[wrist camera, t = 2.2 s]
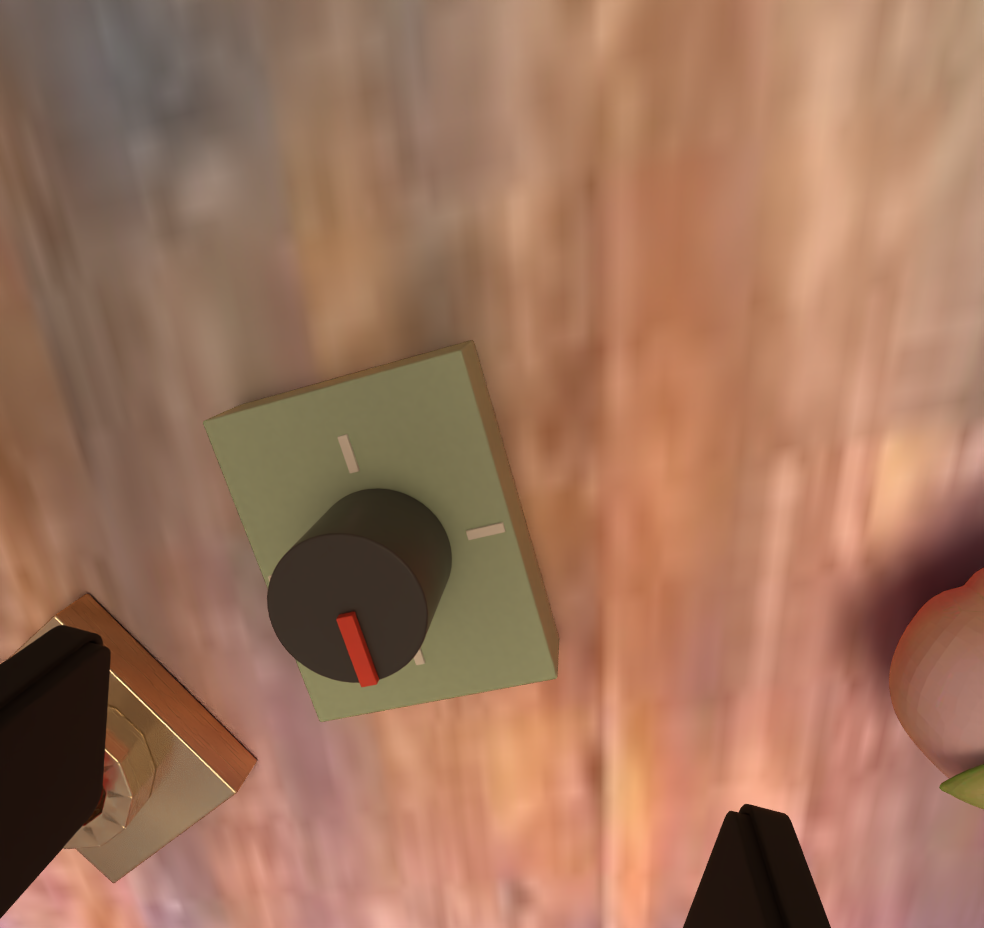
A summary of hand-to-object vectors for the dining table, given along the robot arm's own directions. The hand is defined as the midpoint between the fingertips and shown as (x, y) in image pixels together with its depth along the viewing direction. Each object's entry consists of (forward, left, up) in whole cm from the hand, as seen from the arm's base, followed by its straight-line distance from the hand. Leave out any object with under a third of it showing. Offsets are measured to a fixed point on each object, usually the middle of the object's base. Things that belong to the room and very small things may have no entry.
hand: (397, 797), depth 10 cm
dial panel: (0, -5, -19) cm, 19 cm away
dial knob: (0, -5, -16) cm, 17 cm away
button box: (+2, -23, -19) cm, 30 cm away
